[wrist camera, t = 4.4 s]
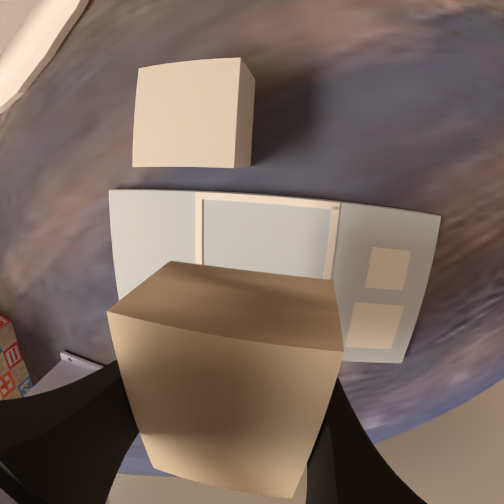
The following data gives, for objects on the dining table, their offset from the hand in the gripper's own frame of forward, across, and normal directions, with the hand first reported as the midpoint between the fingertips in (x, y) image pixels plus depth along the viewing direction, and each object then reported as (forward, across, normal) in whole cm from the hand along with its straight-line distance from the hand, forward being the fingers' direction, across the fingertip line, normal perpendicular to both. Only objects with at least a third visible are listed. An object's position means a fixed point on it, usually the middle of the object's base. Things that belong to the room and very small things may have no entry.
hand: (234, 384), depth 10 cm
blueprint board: (+8, 0, -1) cm, 8 cm away
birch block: (+2, 0, 0) cm, 2 cm away
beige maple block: (+9, +4, -10) cm, 13 cm away
